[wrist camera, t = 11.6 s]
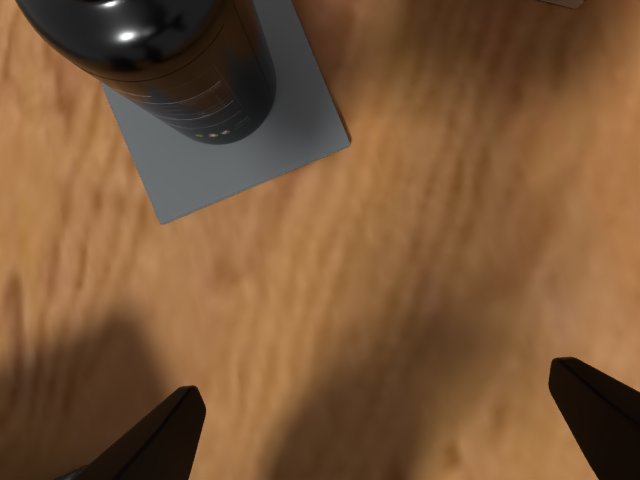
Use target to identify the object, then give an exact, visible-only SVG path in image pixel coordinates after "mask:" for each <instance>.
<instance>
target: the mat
mask: <svg viewBox="0 0 640 480" xmlns="http://www.w3.org/2000/svg"><path fill="white" fill-rule="evenodd" d="M253 2H254V5H255V8H256V11H257V14H258V17H259V20H260V23H261V26H262V29H263V32H264V35H265V38H266V41H267V44H268V47H269V50H270V53H271V57H272V60H273V64H274V68H275V73H276V95H275V99H274V103H273V106H272V109H271V111H270V113H269V115H268V116H267V118H266V120H265V121H264V122H263V124H262V125H261V126H260V127H259V128H258V129H257V130H256V131H255V132H253V133H252V134H251V135H249V136H248V137H246V138H244V139H242V140H240V141H237V142H235V143H231V144H225V145H210V144H204V143H200V142H197V141H195V140H192V139H190V138H188V137H186V136H185V135H183V134H181V133H180V132H178V131H176V130H175V129H173V128H172V127H170V126H169V125H167V124H165V123H164V122H162V121H161V120H159V119H158V118H156V117H155V116H153V115H152V114H150V113H148V112H147V111H145V110H144V109H142V108H141V107H139V106H138V105H136V104H135V103H133V102H132V101H130V100H128V99H127V98H125V97H124V96H122V95H121V94H119V93H118V92H116V91H115V90H113V89H111V88H110V87H108V86H107V85H105V84H104V83H102V82H101V81H100V82H101V84H102V87H103V89H104V92H105V94H106V96H107V99H108V101H109V103H110V106H111V108H112V111H113V113H114V115H115V118H116V120H117V123H118V125H119V127H120V130H121V132H122V134H123V137H124V139H125V142H126V144H127V146H128V149H129V151H130V154H131V156H132V158H133V161H134V163H135V165H136V168H137V170H138V173H139V175H140V177H141V180H142V182H143V184H144V187H145V189H146V192H147V194H148V196H149V199H150V201H151V204H152V206H153V208H154V211H155V213H156V215H157V218H158V220H159V223H160V224H162V225H164V224H167V223H169V222H171V221H174V220H176V219H178V218H181V217H183V216H186V215H188V214H190V213H193V212H195V211H197V210H200V209H202V208H204V207H207V206H209V205H212V204H214V203H216V202H219V201H221V200H223V199H226V198H228V197H231V196H233V195H235V194H238V193H240V192H242V191H245V190H247V189H250V188H252V187H254V186H257V185H259V184H261V183H264V182H266V181H268V180H271V179H273V178H276V177H278V176H280V175H283V174H285V173H287V172H290V171H292V170H295V169H297V168H299V167H302V166H304V165H306V164H309V163H311V162H313V161H316V160H318V159H321V158H323V157H325V156H328V155H330V154H332V153H335V152H337V151H340V150H342V149H344V148H347V147H349V146H350V142H349V139H348V137H347V135H346V132H345V130H344V127H343V125H342V123H341V120H340V118H339V115H338V113H337V110H336V108H335V106H334V103H333V101H332V98H331V96H330V93H329V91H328V89H327V86H326V84H325V81H324V79H323V76H322V74H321V72H320V69H319V67H318V64H317V62H316V59H315V57H314V55H313V52H312V50H311V47H310V45H309V42H308V40H307V38H306V35H305V33H304V30H303V28H302V25H301V23H300V21H299V18H298V16H297V13H296V11H295V8H294V6H293V4H292V1H291V0H253Z"/></svg>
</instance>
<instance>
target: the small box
mask: <svg viewBox="0 0 640 480" xmlns="http://www.w3.org/2000/svg"><path fill="white" fill-rule="evenodd" d="M86 467H87V466H84V467H82V468H80V469H78V470H76V471H73V472H71V473H68V474H66V475H64V476H62V477H60V478H57V479H55V480H72V479H73V478H74V477H75V476H76V475H77V474H79V473H80V472H81V471H82V470H83V469H84V468H86Z"/></svg>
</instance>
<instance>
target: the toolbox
mask: <svg viewBox="0 0 640 480" xmlns="http://www.w3.org/2000/svg"><path fill="white" fill-rule="evenodd" d="M540 1H545V2H549V3H553V4H557V5H561V6H565V7H569V8H573V9H577V8H578V7H579V6H580V5H581V4H582V3H583V2H584V1H585V0H540Z"/></svg>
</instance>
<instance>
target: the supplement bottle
mask: <svg viewBox="0 0 640 480" xmlns="http://www.w3.org/2000/svg"><path fill="white" fill-rule="evenodd" d="M15 1H16V3H17V4H18V6H19V8H20V9H21V11H22V13H23V14H24V16H25V17H26V19H27V20H28V22H29V23H30V24H31V26H32V27H33V28H34V30H35V31H36V32H37V33H38V34H39V35H40V36H41V37H42V39H43V40H44V41H45V42H47V43H48V44H49V45H50V46H51V47H52V48H53V49H54V50H56V51H57V52H58V53H60V54H61V55H62V56H64V57H65V58H66V59H68V60H69V61H71V62H72V63H73V64H75V65H76V66H78V67H79V68H81V69H82V70H84V71H85V72H87V73H88V74H90V75H91V76H93V77H95V78H96V79H98V80H99V81H101V82H102V83H104V84H105V85H107V86H108V87H110V88H111V89H113V90H115V91H116V92H118V93H119V94H121V95H122V96H124V97H125V98H127V99H128V100H130V101H132V102H133V103H135V104H136V105H138V106H139V107H141V108H142V109H144V110H145V111H147V112H148V113H150V114H152V115H153V116H155V117H156V118H158V119H159V120H161V121H162V122H164V123H165V124H167V125H169V126H170V127H172V128H173V129H175V130H176V131H178V132H180V133H181V134H183V135H185V136H186V137H188V138H190V139H192V140H195V141H197V142H200V143H204V144H210V145H225V144H231V143H235V142H237V141H240V140H242V139H244V138H246V137H248V136H249V135H251V134H252V133H253V132H255V131H256V130H257V129H258V128H259V127H260V126H261V125H262V124H263V122H264V121H265V120H266V118H267V116H268V115H269V113H270V111H271V109H272V106H273V103H274V99H275V95H276V73H275V68H274V64H273V60H272V57H271V53H270V50H269V47H268V44H267V41H266V38H265V35H264V32H263V29H262V26H261V23H260V20H259V17H258V14H257V11H256V8H255V5H254V2H253V0H15Z"/></svg>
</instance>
